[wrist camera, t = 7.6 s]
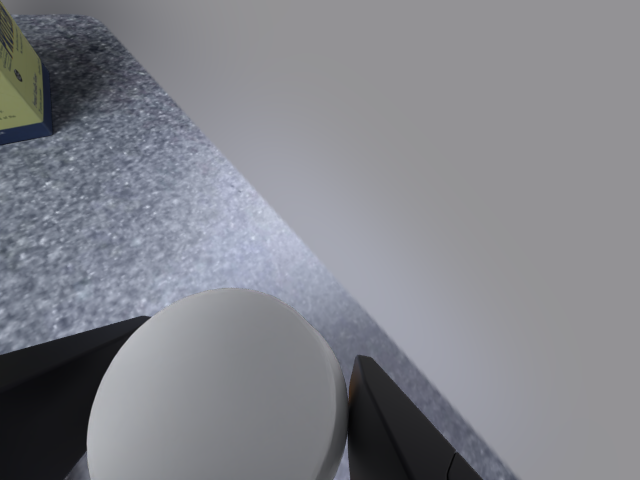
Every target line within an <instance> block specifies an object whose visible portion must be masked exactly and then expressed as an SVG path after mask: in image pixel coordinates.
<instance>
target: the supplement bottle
mask: <svg viewBox="0 0 640 480" xmlns="http://www.w3.org/2000/svg"><path fill="white" fill-rule="evenodd" d="M348 423H349V402H348V396H347V388H346V383H345V380H344V376H343V373H342V370H341V367H340V365H339V362H338V360H337V358H336V356H335V354H334V352H333V351H332V349H331V347H330V346H329V345H328V343H327V342H326V340H325V339H324V338H323V336H322V335H321V334H320V333H319V332H318V331H317V330H316V329H315V328H314V327H313V326H311V325H310V324H309V323H308V322H307V321H306V320H305V319H304V318H303V317H302V316H301V315H300V314H299V313H298V312H297V311H296V310H295V309H293V308H292V307H291V306H289V305H288V304H286V303H284V302H283V301H281V300H279V299H277V298H275V297H273V296H271V295H268V294H265V293H262V292H258V291H254V290H249V289H240V288H222V289H214V290H207V291H203V292H200V293H197V294H194V295H190V296H187V297H185V298H183V299H181V300H178V301H176V302H174V303H173V304H171V305H169V306H167V307H166V308H164V309H163V310H161V311H159V312H158V313H156V314H155V315H154V316H153V317H151V318H150V319H149V320H147V321H146V322H145V323H144V324H143V325H142V326H141V327H139V328H138V329H137V330H136V331H135V332H134V333H133V334H132V335H131V336H130V338H129V339H128V340H127V341H126V342H125V344H124V345H123V346H122V347H121V349H120V350H119V352H118V353H117V354H116V356H115V357H114V359H113V360H112V362H111V364H110V366H109V367H108V369H107V371H106V373H105V375H104V376H103V379H102V381H101V383H100V386H99V388H98V390H97V393H96V396H95V399H94V402H93V405H92V409H91V414H90V418H89V424H88V432H87V463H88V469H89V475H90V479H91V480H333V479H334V477H335V475H336V472H337V470H338V467H339V464H340V462H341V459H342V456H343V452H344V448H345V444H346V439H347V433H348Z"/></svg>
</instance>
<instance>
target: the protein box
mask: <svg viewBox="0 0 640 480" xmlns="http://www.w3.org/2000/svg"><path fill="white" fill-rule="evenodd" d="M52 134H53V132H52V113H51V94H50V79H49V71H48V70H47V69H46V67H45V66H44V64H43V63H42V61H41V60H40V58H39V57H38V55H37V54H36V52H35V51H34V49H33V48H32V47H31V45H30V44H29V42H28V41H27V39H26V38H25V37H24V35H23V34H22V32H21V30H20V29H19V27H18V26H17V24H16V23H15V21H14V20H13V18H12V17H11V16H10V14H9V13H8V11H7V10H6V8H5V7H4V5H3V4H2V2H1V1H0V145H3V144H8V143H13V142H18V141H24V140H29V139H34V138H40V137H45V136H50V135H52Z"/></svg>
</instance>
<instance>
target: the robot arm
mask: <svg viewBox="0 0 640 480" xmlns="http://www.w3.org/2000/svg"><path fill="white" fill-rule="evenodd" d="M150 318H151V317H149V316H139V317H136V318H132V319H128V320H125V321H121V322H118V323H114V324H110V325H107V326H103V327H100V328H96V329H92V330H89V331H85V332H82V333H78V334H74V335H71V336H67V337H64V338H60V339H56V340H53V341H49V342H46V343H42V344H38V345H35V346H31V347H28V348H24V349H20V350H17V351H13V352H10V353H6V354H2V355H0V480H64V479H65V477H66V476H67V475H68V474H69V472H70V471H71V470H72V469H73V467H74V466H75V465H76V463H77V462H78V461H79V460H80V458H81V457H82V456H83V455H84V453H85V452H86V451H87V432H88V424H89V418H90V414H91V409H92V405H93V402H94V399H95V396H96V393H97V390H98V388H99V386H100V383H101V381H102V379H103V376H104V375H105V373H106V371H107V369H108V367H109V366H110V364H111V362H112V360H113V359H114V357H115V356H116V354H117V353H118V352H119V350H120V349H121V347H122V346H123V345H124V344H125V342H126V341H127V340H128V339H129V338H130V336H131V335H132V334H133V333H134V332H135V331H136V330H137V329H138V328H139V327H141V326H142V325H143V324H144V323H145V322H146V321H147V320H149V319H150ZM455 452H456V450H455V449H454V447H453V446H452V445H451V444H450V443H449V442H448V441H447V440H446V439H445V438H444V436H443V435H442V434H441V433H440V432H439V431H438V430H437V429H436V428H435V427H434V425H433V424H432V423H431V422H430V421H429V420H428V419H427V418H426V417H425V416H424V414H423V413H422V412H421V411H420V410H419V409H418V408H417V407H416V406H415V405H414V403H413V402H412V401H411V400H410V399H409V398H408V397H407V396H406V395H405V394H404V392H403V391H402V390H401V389H400V388H399V387H398V386H397V385H396V384H395V383H394V381H393V380H392V379H391V378H390V377H389V376H388V375H387V374H386V373H385V372H384V370H383V369H382V368H381V367H380V366H379V365H378V364H377V363H376V362H375V361H374V359H373V358H371V357H367V356H362V355H358V356H356V358H355V362H354V366H353V371H352V375H351V380H350V386H349V423H348V458H349V470H350V480H483V479H482V478H481V477H480V476H479V475H478V473H477V472H476V471H475V470H474V469H473V468H472V467H471V466H470V465H469V464H468V463H467V462H466V461H465V459H464V458H463V457H462V456H461V455H460V454H459V453H458V452H456V453H455Z"/></svg>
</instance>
